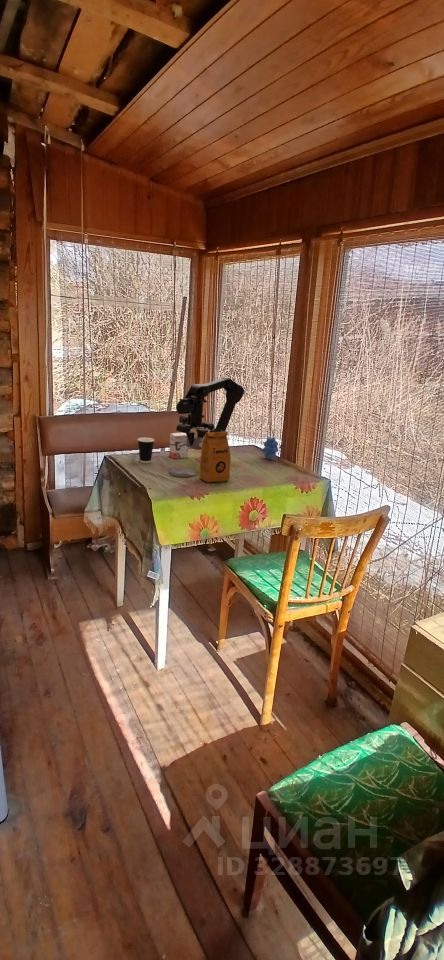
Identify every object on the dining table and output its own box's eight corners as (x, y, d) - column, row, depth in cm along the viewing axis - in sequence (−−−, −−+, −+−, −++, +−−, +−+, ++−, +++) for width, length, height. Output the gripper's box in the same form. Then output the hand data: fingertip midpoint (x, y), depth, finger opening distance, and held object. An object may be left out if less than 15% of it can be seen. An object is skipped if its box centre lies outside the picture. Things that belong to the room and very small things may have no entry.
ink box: (173, 458, 274) (174, 435, 271) (168, 456, 278) (169, 433, 275) (188, 457, 279) (189, 434, 275) (183, 454, 283) (184, 432, 279)
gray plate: (185, 468, 259) (185, 466, 259) (201, 475, 251) (201, 473, 251) (164, 471, 252) (164, 470, 251) (180, 479, 243) (180, 477, 243)
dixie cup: (155, 463, 264) (156, 441, 260) (139, 464, 260) (140, 441, 257) (151, 459, 270) (151, 437, 267) (135, 459, 267) (135, 437, 264)
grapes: (282, 461, 283) (285, 438, 280) (272, 462, 280) (274, 439, 276) (269, 455, 293) (271, 433, 289) (259, 456, 289) (261, 434, 286)
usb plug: (191, 444, 266) (191, 434, 264) (207, 450, 257) (208, 439, 256) (184, 445, 263) (185, 435, 262) (201, 451, 255) (201, 440, 253)
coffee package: (232, 482, 243) (235, 433, 237) (206, 484, 238) (209, 434, 231) (222, 476, 252) (225, 428, 245) (197, 478, 246) (200, 429, 240)
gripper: (201, 408, 268) (199, 439, 272) (169, 410, 256) (168, 443, 260) (216, 412, 260) (213, 444, 265) (184, 415, 248) (182, 448, 253)
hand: (194, 445), depth 261 cm, fingers closed on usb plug, 4 cm apart
